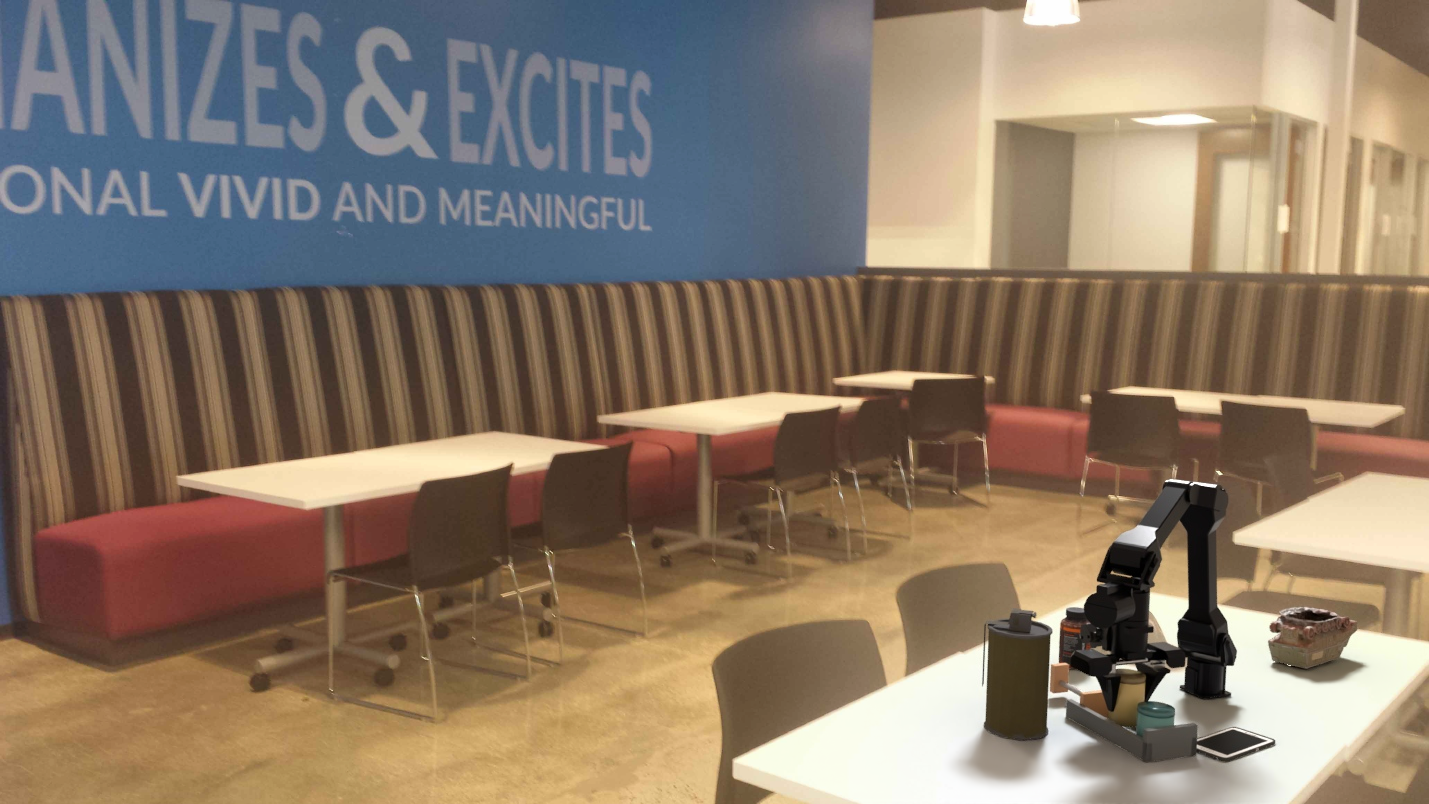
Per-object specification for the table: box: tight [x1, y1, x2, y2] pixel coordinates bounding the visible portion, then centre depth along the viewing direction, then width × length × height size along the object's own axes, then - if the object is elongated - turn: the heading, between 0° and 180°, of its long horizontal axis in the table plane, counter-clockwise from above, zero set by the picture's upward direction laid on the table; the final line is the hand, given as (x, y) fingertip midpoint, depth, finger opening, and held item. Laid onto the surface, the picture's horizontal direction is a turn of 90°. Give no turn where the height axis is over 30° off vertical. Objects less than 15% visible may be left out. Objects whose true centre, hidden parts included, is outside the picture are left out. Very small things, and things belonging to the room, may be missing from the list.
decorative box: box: [1267, 606, 1358, 670], centre depth 244 cm, size 13×20×10 cm, turn 118°
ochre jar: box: [1107, 668, 1146, 728], centre depth 201 cm, size 6×6×8 cm
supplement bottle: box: [1058, 606, 1092, 671], centre depth 236 cm, size 6×6×11 cm
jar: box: [1135, 700, 1176, 738], centre depth 194 cm, size 6×6×7 cm
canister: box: [981, 608, 1053, 741], centre depth 202 cm, size 11×10×20 cm
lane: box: [1065, 698, 1199, 763], centre depth 200 cm, size 10×21×5 cm, turn 19°
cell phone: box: [1196, 726, 1276, 763], centre depth 197 cm, size 8×15×1 cm, turn 125°
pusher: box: [1049, 662, 1108, 718], centre depth 213 cm, size 7×13×6 cm, turn 19°
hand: (1125, 709), depth 201 cm, fingers closed on ochre jar, 6 cm apart
